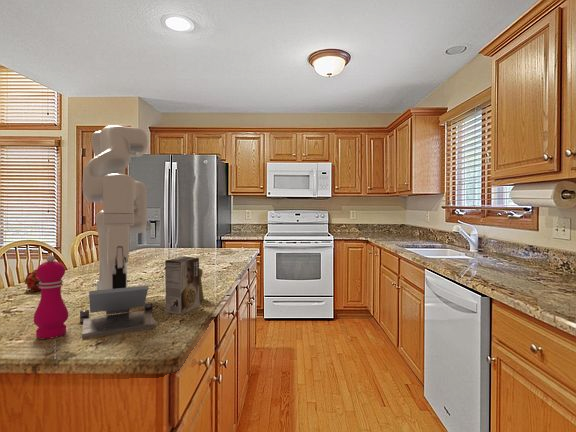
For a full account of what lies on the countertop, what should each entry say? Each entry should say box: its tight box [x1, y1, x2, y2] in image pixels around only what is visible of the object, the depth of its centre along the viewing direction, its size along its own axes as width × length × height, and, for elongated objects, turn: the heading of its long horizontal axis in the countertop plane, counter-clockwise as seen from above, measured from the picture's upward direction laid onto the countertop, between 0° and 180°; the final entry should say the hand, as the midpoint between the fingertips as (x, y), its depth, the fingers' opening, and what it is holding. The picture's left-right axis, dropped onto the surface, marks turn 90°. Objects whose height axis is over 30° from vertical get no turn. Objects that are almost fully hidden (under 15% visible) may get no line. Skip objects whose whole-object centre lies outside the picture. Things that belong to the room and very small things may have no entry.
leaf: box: [88, 285, 149, 316], centre depth 98 cm, size 15×14×2 cm
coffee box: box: [164, 256, 200, 315], centre depth 110 cm, size 9×6×16 cm
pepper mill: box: [33, 254, 69, 339], centre depth 88 cm, size 7×7×20 cm
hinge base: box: [79, 302, 157, 339], centre depth 97 cm, size 17×19×3 cm
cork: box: [199, 267, 205, 302], centre depth 123 cm, size 6×6×11 cm
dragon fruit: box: [24, 269, 41, 292], centre depth 137 cm, size 8×8×12 cm
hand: (119, 288), depth 94 cm, fingers closed
